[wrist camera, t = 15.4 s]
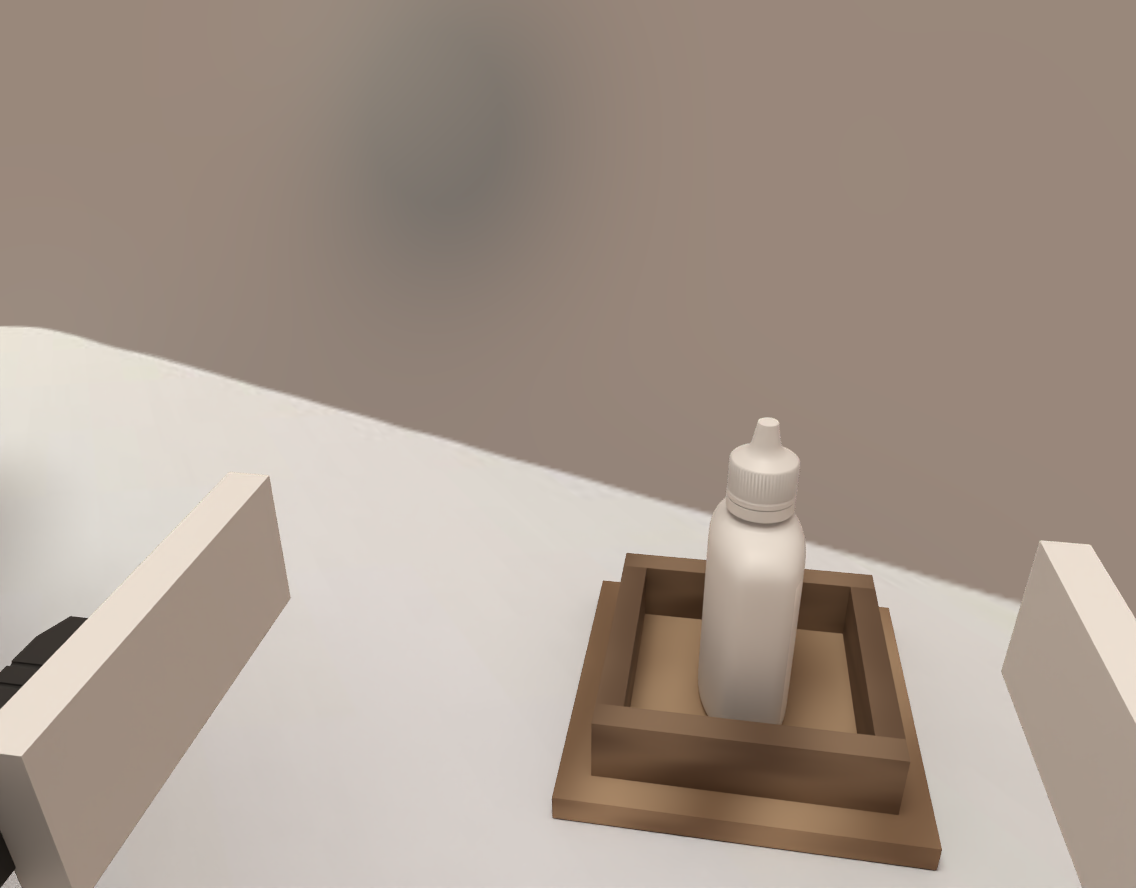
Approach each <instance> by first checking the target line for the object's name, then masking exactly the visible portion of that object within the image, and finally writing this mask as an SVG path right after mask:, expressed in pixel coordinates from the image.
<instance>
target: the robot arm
mask: <svg viewBox="0 0 1136 888" xmlns="http://www.w3.org/2000/svg"><path fill="white" fill-rule="evenodd" d="M289 600H290V592H289V586H288V581H287V575H286V569H285V563H284V558H283V552H282V546H281V541H280V535H279V529H278V523H277V518H276V512H275V506H274V500H273V495H272V489H271V483H270V478H269V475H258V474H247V473H235V472H229V473H228V474H227V475H226V476H225V477H224V478H223V479H222V480H221V481H220V482H219V483H218V484H217V485H216V486H215V487H214V488H213V489H212V490H211V491H210V492H209V494H208V495H207V496H206V497H205V498H204V499H203V500H202V501H201V502H200V503H199V504H198V505H197V506H196V507H195V508H194V509H193V510H192V511H191V512H190V513H189V514H188V515H187V516H186V517H185V518H184V519H183V520H182V522H181V523H180V524H179V525H178V526H177V527H176V528H175V529H174V530H173V531H172V532H171V533H170V534H169V535H168V536H167V537H166V538H165V539H164V540H163V541H162V542H161V543H160V544H159V545H158V546H157V547H156V548H155V550H154V551H153V552H152V553H151V554H150V555H149V556H148V557H147V558H146V559H145V560H144V561H143V562H142V563H141V564H140V565H139V566H138V567H137V568H136V569H135V570H134V571H133V572H132V573H131V574H130V575H129V576H128V578H127V579H126V580H125V581H124V582H123V583H122V584H121V585H120V586H119V587H118V588H117V589H116V590H115V591H114V592H113V593H112V594H111V595H110V596H109V597H108V598H107V599H106V600H105V601H104V602H103V603H102V604H101V606H100V607H99V608H98V609H97V610H96V611H95V612H94V613H93V614H92V615H91V616H90V617H89V618H81V617H72V616H70V617H68V618H67V619H65V620H63V621H62V622H60V623H58V624H57V625H55V626H53V627H52V628H50V629H48V630H47V631H45V632H43V633H41V634H40V635H38V636H36V637H35V638H34V639H33V640H32V641H31V642H30V643H29V644H28V645H27V646H26V647H25V648H24V649H23V650H22V651H21V652H20V653H19V654H18V655H17V656H16V657H15V658H14V659H13V660H12V664H11V666H6V667H5V668H4V669H3V670H2V671H1V672H0V888H1V886H2V885H3V884H4V883H5V881H6V880H7V879H8V877H9V876H10V875H11V874H12V872H13V871H15V873H16V875H17V878H18V880H19V882H20V885H21V887H22V888H93V887H94V886H95V885H96V883H97V882H98V880H99V879H100V877H101V876H102V874H103V873H104V871H105V870H106V868H107V867H108V865H109V864H110V863H111V861H112V860H113V858H114V857H115V855H116V854H117V852H118V851H119V849H120V848H121V846H122V845H123V843H124V842H125V841H126V839H127V838H128V836H129V835H130V833H131V832H132V830H133V829H134V827H135V826H136V824H137V823H138V821H139V820H140V819H141V817H142V816H143V814H144V813H145V811H146V810H147V808H148V807H149V805H150V804H151V802H152V801H153V799H154V798H155V796H156V795H157V794H158V792H159V791H160V789H161V788H162V786H163V785H164V783H165V782H166V780H167V779H168V777H169V776H170V774H171V773H172V772H173V770H174V769H175V767H176V766H177V764H178V763H179V761H180V760H181V758H182V757H183V755H184V754H185V752H186V751H187V750H188V748H189V747H190V745H191V744H192V742H193V741H194V739H195V738H196V736H197V735H198V733H199V732H200V730H201V729H202V728H203V726H204V725H205V723H206V722H207V720H208V719H209V717H210V716H211V714H212V713H213V711H214V710H215V708H216V707H217V705H218V704H219V703H220V701H221V700H222V698H223V697H224V695H225V694H226V692H227V691H228V689H229V688H230V686H231V685H232V683H233V682H234V681H235V679H236V678H237V676H238V675H239V673H240V672H241V670H242V669H243V667H244V666H245V664H246V663H247V661H248V660H249V659H250V657H251V656H252V654H253V653H254V651H255V650H256V648H257V647H258V645H259V644H260V642H261V641H262V639H263V638H264V637H265V635H266V634H267V632H268V631H269V629H270V628H271V626H272V625H273V623H274V622H275V620H276V619H277V617H278V616H279V614H280V613H281V612H282V610H283V609H284V607H285V606H286V604H287V603H288V601H289ZM1001 672H1002V675H1003V678H1004V680H1005V683H1006V686H1007V688H1008V691H1009V694H1010V696H1011V699H1012V702H1013V704H1014V707H1015V710H1016V712H1017V715H1018V718H1019V720H1020V723H1021V726H1022V728H1023V731H1024V734H1025V736H1026V739H1027V742H1028V744H1029V747H1030V750H1031V752H1032V755H1033V758H1034V760H1035V763H1036V766H1037V768H1038V771H1039V774H1040V776H1041V779H1042V782H1043V784H1044V787H1045V790H1046V792H1047V795H1048V798H1049V800H1050V803H1051V806H1052V808H1053V811H1054V814H1055V816H1056V819H1057V822H1058V824H1059V827H1060V830H1061V832H1062V835H1063V838H1064V840H1065V843H1066V846H1067V848H1068V851H1069V854H1070V856H1071V859H1072V862H1073V864H1074V867H1075V870H1076V872H1077V875H1078V878H1079V880H1080V883H1081V886H1082V888H1136V619H1135V618H1134V616H1133V614H1132V612H1131V611H1130V609H1129V608H1128V606H1127V604H1126V603H1125V601H1124V599H1123V598H1122V596H1121V594H1120V593H1119V591H1118V589H1117V588H1116V586H1115V584H1114V583H1113V581H1112V579H1111V578H1110V576H1109V575H1108V573H1107V571H1106V570H1105V568H1104V566H1103V565H1102V563H1101V561H1100V560H1099V558H1098V556H1097V555H1096V553H1095V551H1094V550H1093V548H1092V546H1091V545H1088V544H1076V543H1064V542H1052V541H1041V540H1040V541H1039V545H1038V548H1037V552H1036V555H1035V559H1034V562H1033V565H1032V569H1031V572H1030V575H1029V579H1028V583H1027V586H1026V589H1025V592H1024V596H1023V599H1022V602H1021V606H1020V609H1019V613H1018V616H1017V619H1016V623H1015V626H1014V630H1013V633H1012V636H1011V640H1010V643H1009V647H1008V650H1007V653H1006V657H1005V660H1004V664H1003V667H1002V670H1001Z"/></svg>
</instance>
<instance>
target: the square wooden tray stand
mask: <svg viewBox="0 0 1136 888" xmlns="http://www.w3.org/2000/svg"><path fill="white" fill-rule="evenodd" d="M705 572H706V560H698V559H687V558H676V557H665V556H654V555H643V554H632V553H626V558H625V563H624V568H623V573H622V578H621V582H612V581H603V583H602V587H601V592H600V596H599V600H598V604H597V609H596V613H595V617H594V621H593V626H592V630H591V634H590V638H589V643H588V647H587V651H586V655H585V660H584V664H583V668H582V672H581V677H580V681H579V685H578V690H577V694H576V698H575V702H574V707H573V711H572V715H571V719H570V724H569V728H568V732H567V736H566V741H565V745H564V749H563V753H562V758H561V762H560V766H559V770H558V775H557V779H556V783H555V787H554V792H553V796H552V816H553V818H559V819H566V820H573V821H581V822H588V823H595V824H603V825H610V826H617V827H624V828H632V829H639V830H646V831H654V832H661V833H668V834H676V835H683V836H690V837H697V838H705V839H712V840H719V841H727V842H734V843H741V844H749V845H756V846H763V847H770V848H778V849H785V850H792V851H800V852H807V853H814V854H822V855H829V856H836V857H843V858H851V859H858V860H865V861H873V862H880V863H887V864H895V865H902V866H909V867H916V868H924V869H931V870H937V867H938V863H939V859H940V855H941V851H942V848H941V843H940V839H939V834H938V830H937V825H936V821H935V816H934V811H933V807H932V802H931V798H930V793H929V789H928V784H927V780H926V775H925V771H924V766H923V762H922V757H921V753H920V748H919V744H918V739H917V734H916V730H915V725H914V721H913V716H912V712H911V707H910V703H909V698H908V694H907V689H906V685H905V680H904V676H903V671H902V667H901V662H900V657H899V653H898V648H897V644H896V639H895V635H894V630H893V626H892V621H891V617H890V612H889V608H884V607H879V606H878V601H877V596H876V591H875V587H874V582H873V577H872V575H864V574H853V573H842V572H831V571H820V570H809V569H804V577H803V585H802V593H801V601H800V608H799V616H798V623H797V631H796V638H795V646H794V653H793V661H792V668H791V676H790V683H789V691H788V698H787V705H786V711H785V716H784V719H783V722H782V725H778V724H770V723H761V722H753V721H744V720H736V719H727V718H718V717H710V716H708V715H707V713H706V711H705V709H704V707H703V704H702V701H701V698H700V693H699V687H698V666H699V653H700V639H701V626H702V612H703V599H704V586H705Z"/></svg>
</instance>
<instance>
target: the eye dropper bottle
mask: <svg viewBox="0 0 1136 888" xmlns="http://www.w3.org/2000/svg"><path fill="white" fill-rule="evenodd" d="M799 471H800V460H799V458H798V456H797V455H796V454H795V453H794V452H792V451H791V450H789V449H787V448H785V447H783V446H782V445H781V438H780V429H779V421H778V420H776V419H774V418H761V419H759V420H758V423H757V426H756V429H755V433H754V436H753V439H752V441H751V443H749V444H744V445H741V446H739V447H737V448H736V449H734V450H733V451H732V452H731V454H730V457H729V468H728V481H727V492H726V497H725V498H724V499H723V500H722V501H721V502H720V503H719V504H718V506H717V507H716V509H715V511H714V513H713V515H712V518H711V522H710V527H709V534H708V546H707V559H706V572H705V586H704V599H703V612H702V626H701V639H700V653H699V666H698V687H699V693H700V698H701V701H702V704H703V707H704V709H705V711H706V713H707V715H708V716H710V717H718V718H727V719H736V720H744V721H753V722H761V723H770V724H778V725H782V722H783V719H784V716H785V711H786V705H787V698H788V691H789V683H790V676H791V668H792V661H793V653H794V646H795V638H796V631H797V623H798V616H799V608H800V601H801V593H802V585H803V577H804V569H805V558H806V545H805V537H804V533H803V529H802V527H801V524H800V522H799V520H798V518H797V516H796V514H795V513H794V511H795V503H796V495H797V487H798V479H799Z"/></svg>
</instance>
